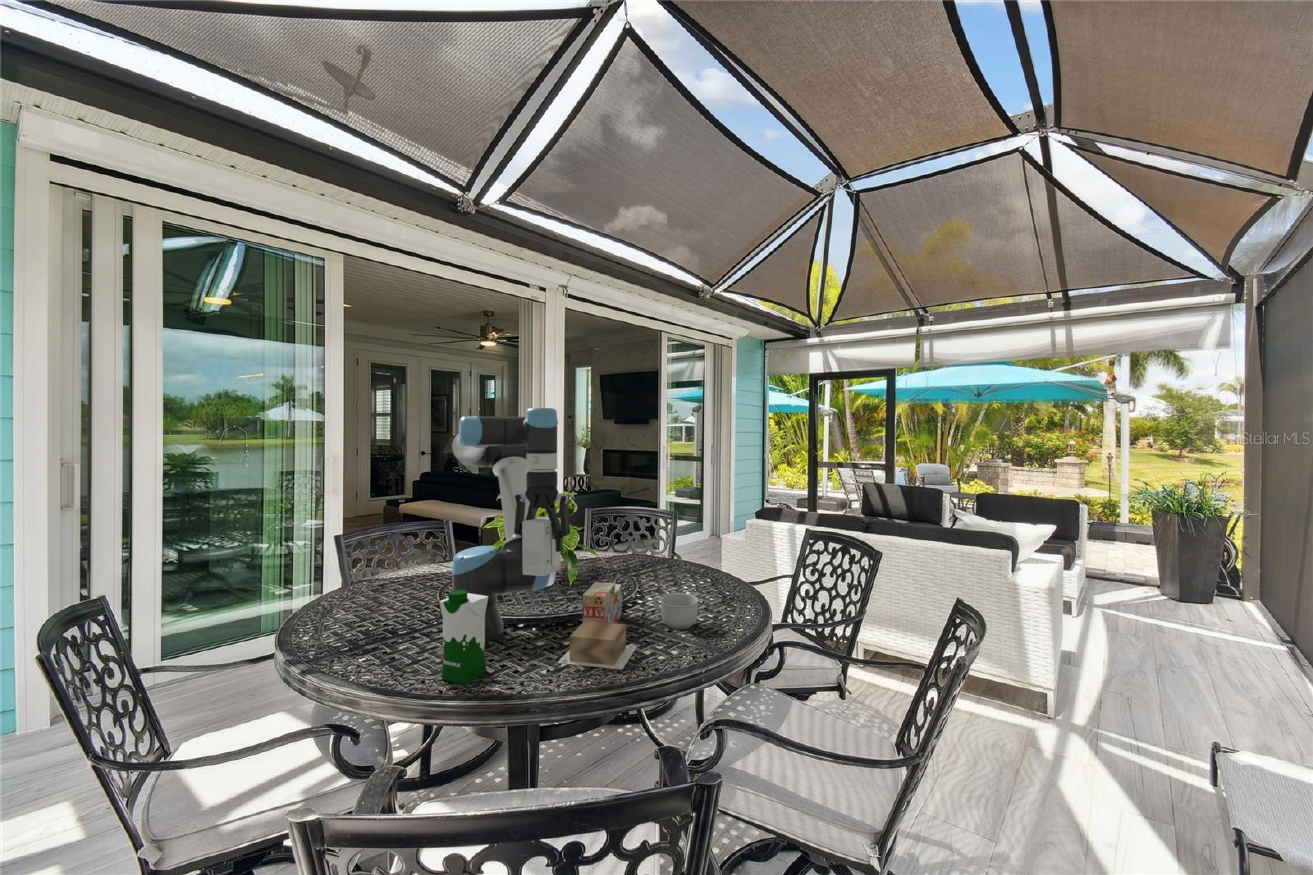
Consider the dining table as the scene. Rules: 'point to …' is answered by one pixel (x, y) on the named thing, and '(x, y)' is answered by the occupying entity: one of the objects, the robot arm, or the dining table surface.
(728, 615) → the dining table surface
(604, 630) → the walnut brick
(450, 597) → the milk carton
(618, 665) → the baseplate
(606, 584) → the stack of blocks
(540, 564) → the small box
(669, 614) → the teacup
